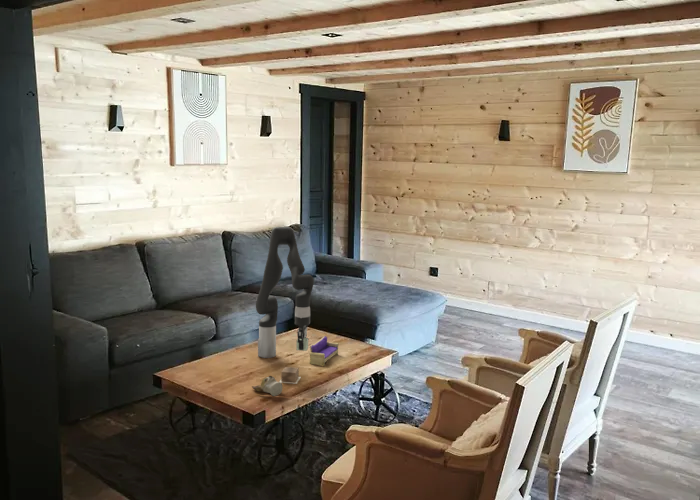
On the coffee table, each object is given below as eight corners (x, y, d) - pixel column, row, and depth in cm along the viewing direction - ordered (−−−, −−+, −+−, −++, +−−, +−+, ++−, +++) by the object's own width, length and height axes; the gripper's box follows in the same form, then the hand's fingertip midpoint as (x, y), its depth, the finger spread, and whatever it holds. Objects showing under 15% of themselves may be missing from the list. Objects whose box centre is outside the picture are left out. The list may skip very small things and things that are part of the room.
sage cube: (296, 350, 300) (296, 340, 299) (298, 347, 305) (298, 337, 304) (306, 350, 299) (306, 341, 298) (308, 347, 304) (308, 337, 303)
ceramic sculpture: (271, 381, 275) (250, 375, 285) (271, 400, 276) (250, 392, 286) (288, 376, 283) (268, 369, 293) (289, 394, 283) (268, 387, 294)
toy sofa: (323, 366, 321) (324, 348, 319) (308, 364, 324) (309, 345, 322) (338, 354, 340) (339, 337, 339) (324, 352, 343) (325, 335, 342)
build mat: (275, 384, 295) (275, 383, 295) (281, 375, 306) (281, 374, 306) (299, 386, 293) (299, 385, 293) (304, 377, 305) (304, 376, 305)
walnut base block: (281, 381, 297) (281, 371, 296) (284, 376, 303) (284, 366, 303) (295, 382, 296) (295, 372, 295) (298, 377, 303) (298, 367, 302)
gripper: (297, 310, 307) (297, 343, 309) (292, 318, 292) (291, 352, 295) (312, 311, 306) (312, 344, 309) (307, 319, 292) (307, 353, 294)
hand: (302, 347), depth 302 cm, fingers closed on sage cube, 5 cm apart
